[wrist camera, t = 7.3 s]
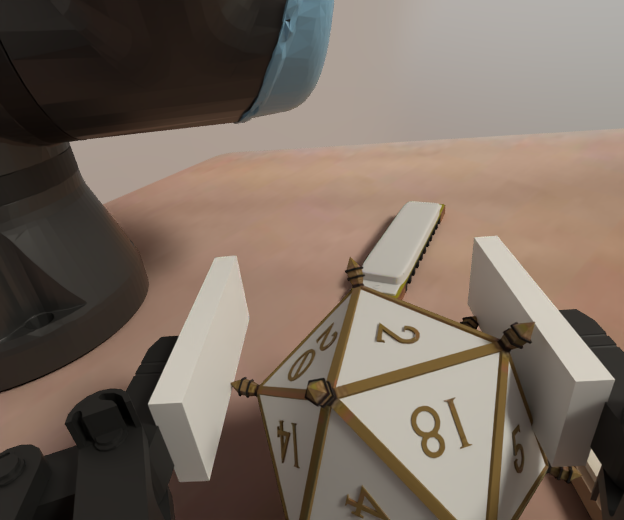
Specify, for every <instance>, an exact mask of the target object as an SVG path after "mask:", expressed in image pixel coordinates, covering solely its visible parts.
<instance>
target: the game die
mask: <svg viewBox="0 0 624 520" xmlns="http://www.w3.org/2000/svg"><path fill="white" fill-rule="evenodd" d="M362 269H363V267H361V266H359V265H358V264H357V263H356V262H355V261H354V260H353V259H352V258H351V257H350V259H349V263H348V267H347V270H346V271H345V273H347V274H348V277H349V278H347V279H348V281H350V282H351V284H352V285H353V289H352V290H351V291H350V292H349V293H348V294H347V295H346V296H345V297H344V298H343V299H342V300H341V301H340V302H339V303H338V305H337V306H336V307H335V308H334V309H333V310H332V311H331V312H330V313H329V314H328V315H327V316H326V317H325V318H324V319H323V320H322V321H321V322H320V323H319V324H318V325H317V326H316V327H315V328H314V329H313V331H312V332H311V333H310V334H309V335H308V336H307V337H306V338H305V339H304V340H303V341H302V342H301V343H300V344H299V345H298V346H297V347H296V348H295V349H294V350H293V351H292V352H291V353H290V354H289V355H288V357H287V358H286V359H285V360H284V361H283V362H282V363H281V364H280V365H279V366H278V367H277V368H276V369H275V370H274V371H273V372H272V373H271V374H270V375H269V376H268V377H267V378H266V379H265V380H264V381H263V383H262V384H261V385H258V384H256V383H255V382H253V381H254V380H253V379H252V380H247V379H246V377H244V378H242V379H241V380H238V381H235V382H231V385H232V386H233V387H234V389H235V390H236V391H237V392H238V394H239V396H241V395H245V396H246V397H247V398H249V396H256V397H257V398H258V402H259V406H260V411H261V415H262V419H263V424H264V428H265V432H266V437H267V441H268V445H269V450H270V454H271V458H272V462H273V467H274V471H275V475H276V480H277V484H278V488H279V493H280V497H281V501H282V506H283V510H284V514H285V519H286V520H518V519H519V517H520V516H521V514H522V512H523V511H524V509H525V507H526V506H527V504H528V502H529V501H530V499H531V497H532V496H533V494H534V492H535V491H536V489H537V487H538V486H539V484H540V482H541V481H542V479H543V478H544V476H545V474H546V473H550V474H552V475H553V476H554V477H555V478H556V479H557V480H560V479H563V480H565V481H566V482H567V483H569V482H570V480H573V479H575V478H577V477H580V476H582V474H581V473H580V472H579V471H578V470H577V469H576V468H575V467H574V466H565V467H552V466H551V464H550V463H549V461H548V459H547V457H546V455H545V453H544V451H543V449H542V447H541V445H540V443H539V441H538V439H537V437H536V435H535V433H534V432H533V430H532V424H533V419H532V415H531V412H530V409H529V406H528V403H527V400H526V397H525V394H524V391H523V389H522V386H521V383H520V380H519V377H518V374H517V371H516V369H515V366H514V363H513V360H512V357H511V354H510V351H511V350H512V349H516V348H520V349H522V348H523V345H524V344H526V343H529V344H531V343H532V341H531V336H532V332H533V329H534V325H535V322H527V323H518V322H515V323H513V324H512V325H510V327H511V328H508V329H507V330H505V331H503V334H504V335H503V336H502V338H501V339H499V338H496V337H494V336H491V335H489V334H486V333H483V332H481V331H478V330H476V329H477V327H478V325H479V323H478V322H477V317H476V316H473V317H465V318H463V322H460V323H458V322H455V321H453V320H450V319H448V318H445V317H443V316H440V315H438V314H435V313H433V312H430V311H427V310H425V309H422V308H420V307H417V306H415V305H412V304H410V303H407V302H405V301H402V300H399V299H397V298H394V297H392V296H389V295H387V294H384V293H382V292H379V291H377V290H374V289H372V288H369V287H366V286H364V284H363V277H364V276H365V274H363V273H362Z"/></svg>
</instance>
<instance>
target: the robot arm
mask: <svg viewBox="0 0 624 520" xmlns="http://www.w3.org/2000/svg"><path fill="white" fill-rule="evenodd" d="M333 8H334V0H0V391H2V390H5V389H9V388H12V387H14V386H17V385H20V384H23V383H26V382H28V381H31V380H33V379H36V378H38V377H40V376H43V375H45V374H47V373H49V372H52V371H54V370H56V369H58V368H60V367H62V366H64V365H66V364H68V363H70V362H71V361H73V360H75V359H77V358H79V357H80V356H82V355H84V354H85V353H87V352H89V351H90V350H92V349H93V348H95V347H96V346H98V345H99V344H101V343H102V342H104V341H105V340H106V339H108V338H109V337H110V336H112V335H113V334H114V333H115V332H117V331H118V330H119V329H120V328H121V327H122V326H123V325H124V324H125V323H127V322H128V321H129V319H130V318H131V317H132V316H133V315H134V314H135V313H136V311H137V310H138V309H139V307H140V306H141V304H142V303H143V301H144V299H145V297H146V295H147V292H148V287H149V282H148V277H147V274H146V271H145V268H144V265H143V262H142V259H141V256H140V254H139V252H138V250H137V248H136V247H135V245H134V244H133V243H132V242H131V241H130V240H129V239H128V237H127V236H126V235H125V233H124V232H123V231H122V229H121V228H120V227H119V225H118V224H117V223H116V221H115V220H114V219H113V217H112V216H111V215H110V214H109V212H108V211H107V210H106V209H105V207H104V206H103V205H102V203H101V202H100V201H99V200H98V198H97V197H96V196H95V195H94V193H93V192H92V191H91V190H90V188H89V187H88V186H87V185H86V183H85V181H84V180H83V178H82V176H81V173H80V171H79V168H78V165H77V162H76V160H75V157H74V154H73V152H72V149H71V146H70V143H69V142H71V141H78V140H87V139H93V138H102V137H110V136H119V135H128V134H136V133H146V132H154V131H163V130H172V129H180V128H189V127H199V126H207V125H216V124H225V123H235V124H238V123H245V122H246V121H249V120H250V119H251V118H255V117H259V116H264V115H270V114H275V113H280V112H285V111H289V110H292V109H294V108H296V107H298V106H299V105H301V104H302V103H303V102H304V101H305V100H306V99H307V98H308V97H309V96H310V94H311V92H312V91H313V90H314V88H315V86H316V84H317V82H318V79H319V77H320V74H321V71H322V68H323V65H324V61H325V57H326V53H327V48H328V43H329V37H330V30H331V23H332V15H333ZM468 306H469V307H470V309H471V311H472V313H473V315H474V316H476V317H477V322H478V323H479V327H480V329H481V331H482V332H483V333H486V334H489V335H491V336H494V337H496V338H499V339H501V338H502V336H503V335H504V334H503V331H505V330H507V329H508V328H511V327H510V325H512V324H513V323H515V322H518V323H527V322H535V325H534V329H533V332H532V336H531V341H532V343H531V344H529V343H526V344H524V345H523V348H522V349H520V348H516V349H512V350H511V351H510V354H511V357H512V360H513V363H514V366H515V369H516V371H517V374H518V377H519V380H520V383H521V386H522V389H523V391H524V394H525V397H526V400H527V403H528V406H529V409H530V412H531V415H532V419H533V424H532V430H533V432H534V433H535V435H536V437H537V439H538V441H539V443H540V445H541V447H542V449H543V451H544V453H545V455H546V457H547V459H548V461H549V463H550V464H551V466H552V467H565V466H586V463H587V460H588V457H589V454H590V451H591V449H592V450H593V452H594V454H595V455H596V457H597V458H598V460H599V462H600V463H601V468H600V470H599V473H598V476H597V479H596V481H595V484H594V487H593V489H592V493H591V499H590V500H594V501H596V500H597V497H598V495H599V493H600V502H601V511H602V520H624V352H623V351H622V350H621V349H620V348H619V347H617V346H616V343H615V342H614V341H613V340H612V339H611V338H610V337H609V336H607V335H606V332H605V331H604V330H603V329H602V328H601V327H600V326H599V325H598V324H597V322H596V321H595V320H593V319H592V318H590V317H588V316H587V315H585V314H583V313H582V312H580V311H578V310H577V309H571V310H558V309H557V308H556V307H555V306H554V304H553V303H552V302H551V301H550V300H549V298H548V297H547V296H546V295H545V294H544V292H543V291H542V290H541V289H540V287H539V286H538V285H537V284H536V283H535V281H534V280H533V279H532V278H531V276H530V275H529V274H528V273H527V272H526V270H525V269H524V268H523V267H522V265H521V264H520V263H519V262H518V261H517V259H516V258H515V257H514V256H513V254H512V253H511V252H510V251H509V250H508V248H507V247H506V246H505V245H504V244H503V242H502V241H501V240H500V239H499V237H498V236H488V237H475V238H474V244H473V254H472V264H471V274H470V284H469V294H468ZM248 323H249V313H248V308H247V304H246V299H245V294H244V289H243V285H242V280H241V275H240V270H239V266H238V261H237V256H226V257H215V259H214V261H213V263H212V265H211V268H210V270H209V272H208V274H207V276H206V278H205V281H204V283H203V285H202V287H201V289H200V292H199V294H198V296H197V298H196V300H195V302H194V305H193V307H192V309H191V311H190V313H189V316H188V318H187V320H186V322H185V324H184V326H183V329H182V331H181V333H180V335H179V336H168V337H161V338H160V339H159V340H158V341H157V342H155V343H154V344H153V345H152V346H151V347H150V348H149V349H148V351H147V353H146V355H145V356H144V358H143V360H142V362H141V365H140V366H139V368H138V369H137V371H136V373H135V374H136V375H135V376H134V377H133V379H132V381H131V383H130V384H129V386H128V388H127V390H126V392H125V391H123V390H122V389H106V390H102V391H98V392H96V393H94V394H92V395H90V396H87V397H86V398H85V399H83V400H82V401H81V402H79V403H78V404H77V405H76V406H75V407H74V408H73V409H72V410H71V412H70V413H69V414H68V416H67V419H66V422H65V425H66V427H67V429H68V430H69V432H70V434H71V436H72V437H73V439H74V441H75V443H76V446H74V447H71V448H68V449H65V450H62V451H58V452H55V453H52V454H49V455H46V456H43V454H42V452H41V451H40V449H39V448H38V447H35V446H33V445H19V446H16V447H13V448H10V449H7V450H5V451H4V452H2V453H0V520H175V515H174V507H173V500H172V494H171V492H170V489H169V487H168V484H169V481H170V478H171V475H172V472H173V469H174V470H175V473H176V475H177V478H178V480H179V482H193V481H209V480H210V476H211V472H212V468H213V464H214V460H215V456H216V452H217V448H218V444H219V440H220V436H221V432H222V428H223V424H224V420H225V416H226V412H227V407H228V403H229V399H230V395H231V391H232V387H233V386H232V385H231V382H234V379H235V375H236V371H237V367H238V363H239V359H240V355H241V351H242V347H243V343H244V339H245V335H246V331H247V327H248Z"/></svg>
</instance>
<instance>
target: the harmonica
mask: <svg viewBox="0 0 624 520" xmlns="http://www.w3.org/2000/svg"><path fill="white" fill-rule="evenodd" d="M444 214H445V205H444V204H438V203H428V202H414V201H410V202H407V203H406V204H405V205H404V206H403V208H402V209H401V210H400V212H399V213H398V214H397V216H396V217H395V219H394V220H393V222H392V223H391V224H390V226H389V227H388V229H387V230H386V231H385V233H384V234H383V236H382V237H381V239H380V240H379V241H378V243H377V244H376V246H375V247H374V248H373V250H372V251H371V253H370V254H369V256H368V257H367V258H366V260H365V261H364V263H363V265H362V267H363V269H362V273H363V274H365V276H364V277H363V284H364V286H366V287H369V288H372V289H374V290H377V291H379V292H382V293H384V294H387V295H389V296H392V297H394V298H397V299H399V300H402V299H403V297H404V295H405V293H406V291H407V283H409V284H410V283H411V275H412V276H414V275H415V268H418V267H419V260H421V261H422V259H423V254H425V252H426V247H428V246H429V241H431V240H432V235H434V234H435V230H437V228H438V224H440V222H441V220H442V218H443V216H444ZM352 289H353V288H352Z"/></svg>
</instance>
